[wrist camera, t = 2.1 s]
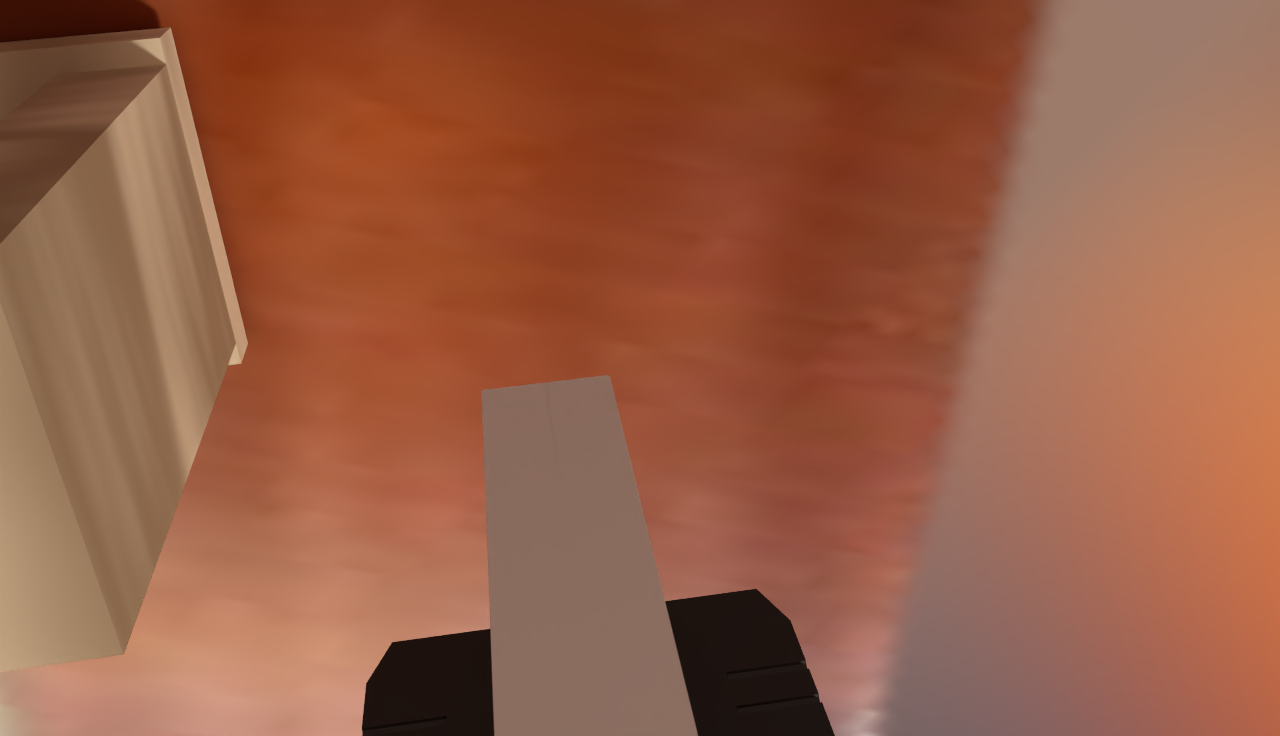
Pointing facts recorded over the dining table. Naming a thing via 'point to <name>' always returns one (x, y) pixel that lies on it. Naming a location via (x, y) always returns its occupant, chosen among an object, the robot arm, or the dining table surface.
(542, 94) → the dining table surface
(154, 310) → the paddle
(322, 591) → the dining table surface
